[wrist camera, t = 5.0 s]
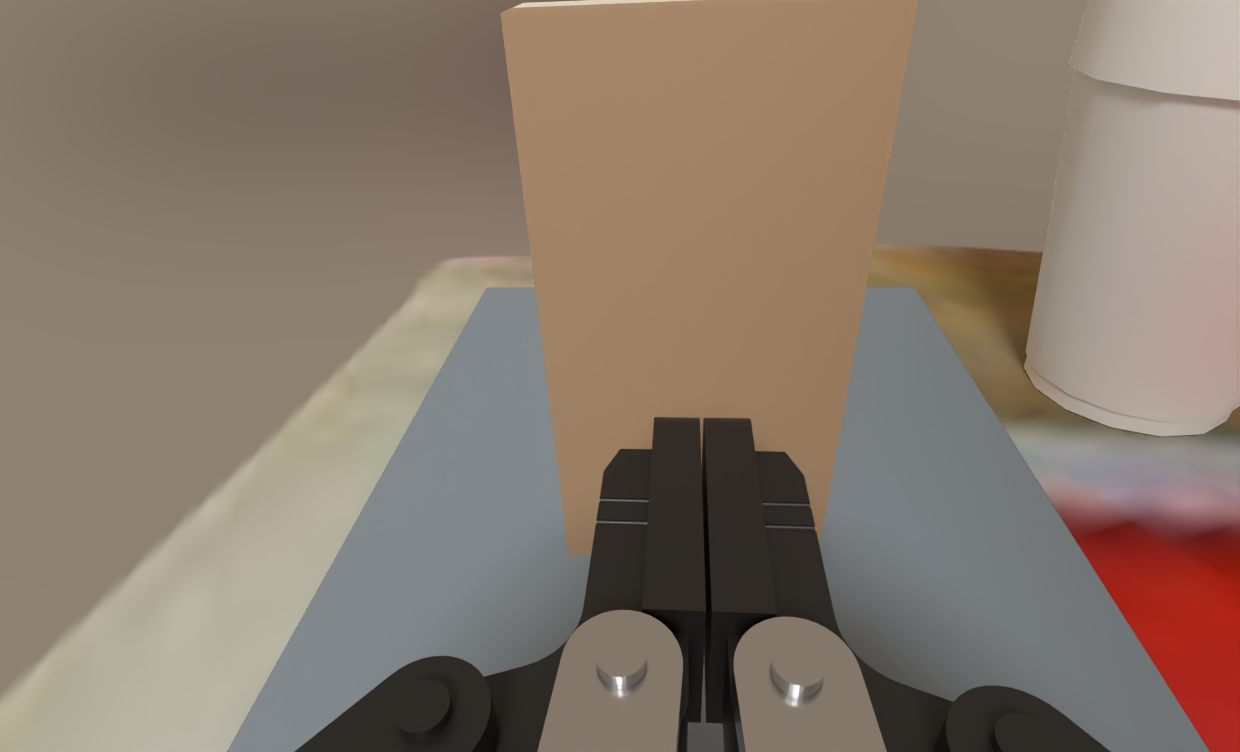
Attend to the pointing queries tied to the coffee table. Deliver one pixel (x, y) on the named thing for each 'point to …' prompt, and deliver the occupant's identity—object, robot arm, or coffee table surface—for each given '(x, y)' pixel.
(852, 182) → the tile
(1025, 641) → the mat
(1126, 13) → the foam cup
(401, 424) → the coffee table surface
